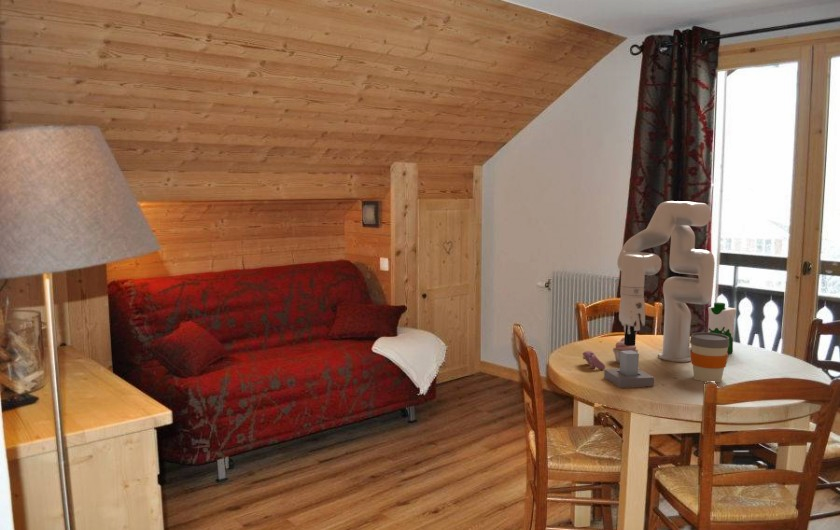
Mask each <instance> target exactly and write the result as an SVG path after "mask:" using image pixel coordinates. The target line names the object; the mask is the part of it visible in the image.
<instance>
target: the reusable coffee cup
mask: <svg viewBox="0 0 840 530" xmlns="http://www.w3.org/2000/svg"><path fill="white" fill-rule="evenodd" d="M690 347H691V350H690V354H691V361H690V363H691V365H692V373H693V379H695V380H696V379H697V381H699V380H701V381H700V382H703V381H715V382H714V383H720V382H722V380H723V375H724V369H725V368H726V366H727V362H728V357H729V354H728V353H727V351H728V347H729V337H728V336H726V335H722V334H717V333H708V331H706V332H705V331H704V332H703V331H702V332H694V333H690Z"/></svg>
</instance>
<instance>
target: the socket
mask: <svg viewBox="0 0 840 530" xmlns="http://www.w3.org/2000/svg"><path fill="white" fill-rule="evenodd" d="M603 372H604V373H603V374H604V375H603V378H604V379H605V380H606V381H608V382H610V383H612V384H613V385H615V386H616V387H618V388H620V389H622V388H623V389H625V388H646V386H648V387H654V386H655V377H654V376H652V374H649V373H647V372H645V371H643V370H641V369H640V368H638V376H623V375H622V374H620V368H605V369H604V371H603Z"/></svg>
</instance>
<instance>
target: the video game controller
mask: <svg viewBox="0 0 840 530" xmlns="http://www.w3.org/2000/svg"><path fill="white" fill-rule="evenodd" d="M582 359H583V360H585V361H586V362H587V363H588V365H589V366H590V367H591V368H592V369H595V368H596V369H598V370H600V369H606V365H605V364H604V362H602V361H600V359H599V358H598V357H597V356H596V355H595V353H594V352H593V351H591V350H586V351H584V352H582Z"/></svg>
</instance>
